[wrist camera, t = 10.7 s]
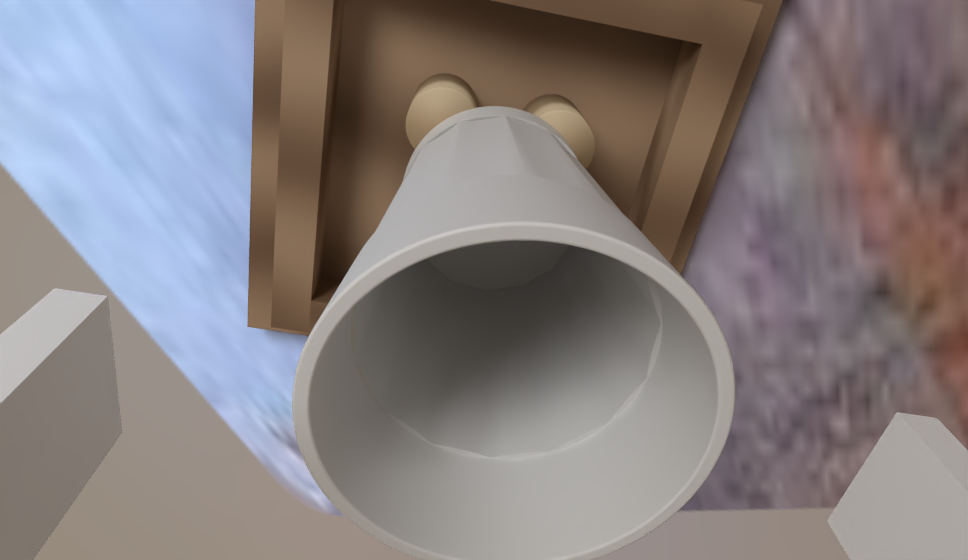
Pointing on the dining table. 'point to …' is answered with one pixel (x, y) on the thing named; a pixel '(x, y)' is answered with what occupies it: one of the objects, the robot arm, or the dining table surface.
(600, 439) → the cup
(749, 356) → the dining table surface
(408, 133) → the peg stand
